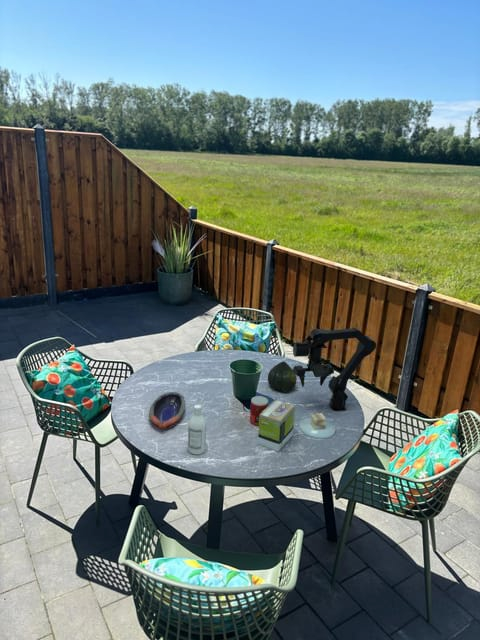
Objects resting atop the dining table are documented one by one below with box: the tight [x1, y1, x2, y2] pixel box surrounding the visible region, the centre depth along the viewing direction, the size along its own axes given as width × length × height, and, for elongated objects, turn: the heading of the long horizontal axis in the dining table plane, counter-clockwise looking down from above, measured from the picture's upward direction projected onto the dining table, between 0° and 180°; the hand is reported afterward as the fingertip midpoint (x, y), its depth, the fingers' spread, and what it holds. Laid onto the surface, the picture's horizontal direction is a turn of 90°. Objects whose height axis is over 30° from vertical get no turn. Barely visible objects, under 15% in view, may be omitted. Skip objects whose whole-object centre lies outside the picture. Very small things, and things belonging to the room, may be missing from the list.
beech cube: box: [310, 413, 327, 430], centre depth 203 cm, size 5×5×5 cm
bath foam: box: [187, 404, 207, 455], centre depth 182 cm, size 7×7×20 cm
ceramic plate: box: [298, 416, 336, 440], centre depth 204 cm, size 16×16×1 cm
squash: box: [267, 361, 298, 393], centre depth 239 cm, size 14×15×15 cm
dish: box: [148, 391, 186, 430], centre depth 208 cm, size 16×31×5 cm, turn 176°
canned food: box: [249, 395, 269, 427], centre depth 206 cm, size 8×8×11 cm
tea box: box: [257, 399, 296, 452], centre depth 192 cm, size 15×10×15 cm
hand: (311, 386), depth 218 cm, fingers open, 9 cm apart
